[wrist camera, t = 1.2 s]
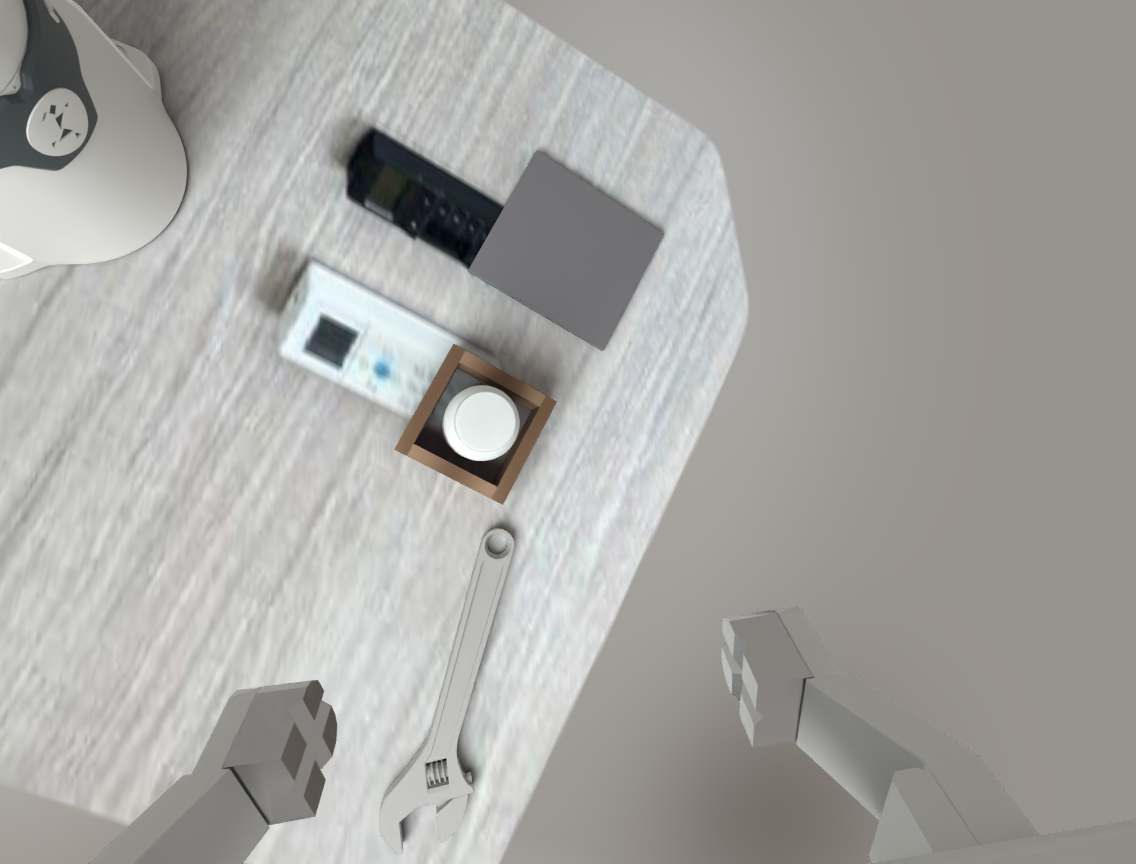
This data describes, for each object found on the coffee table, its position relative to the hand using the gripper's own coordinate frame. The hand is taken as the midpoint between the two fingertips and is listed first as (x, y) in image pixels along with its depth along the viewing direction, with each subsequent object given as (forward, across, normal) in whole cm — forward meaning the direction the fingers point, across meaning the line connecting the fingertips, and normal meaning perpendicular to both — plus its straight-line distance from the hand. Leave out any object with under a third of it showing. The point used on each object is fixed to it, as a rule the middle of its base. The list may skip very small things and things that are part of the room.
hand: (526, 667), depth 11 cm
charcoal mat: (+42, -5, 0) cm, 42 cm away
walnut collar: (+33, +5, +11) cm, 36 cm away
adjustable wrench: (+23, +9, +29) cm, 39 cm away
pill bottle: (+34, +5, +12) cm, 36 cm away
